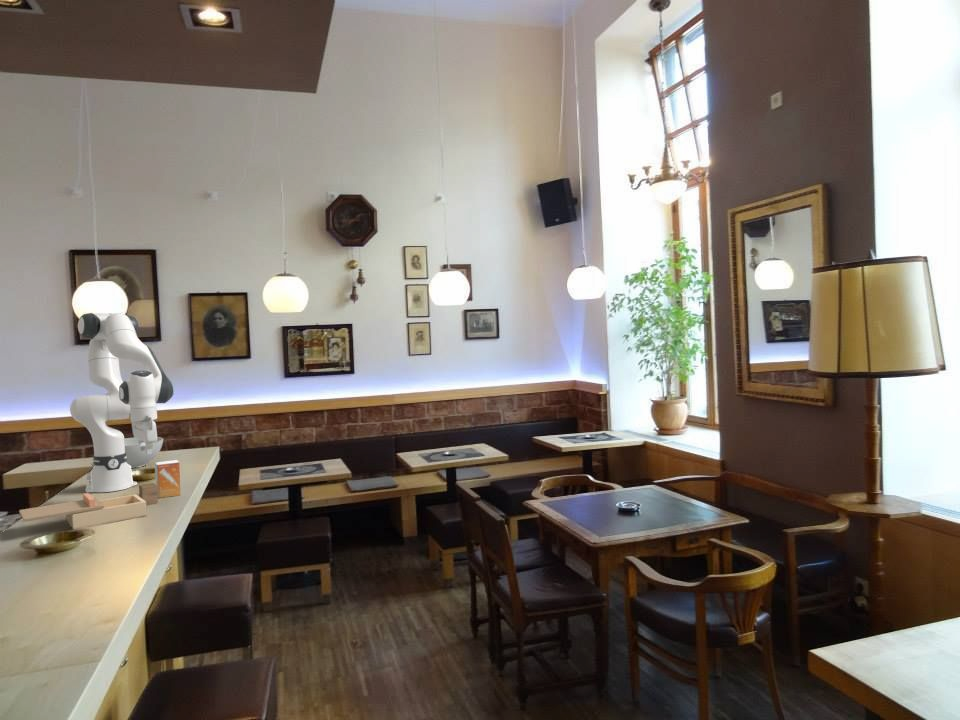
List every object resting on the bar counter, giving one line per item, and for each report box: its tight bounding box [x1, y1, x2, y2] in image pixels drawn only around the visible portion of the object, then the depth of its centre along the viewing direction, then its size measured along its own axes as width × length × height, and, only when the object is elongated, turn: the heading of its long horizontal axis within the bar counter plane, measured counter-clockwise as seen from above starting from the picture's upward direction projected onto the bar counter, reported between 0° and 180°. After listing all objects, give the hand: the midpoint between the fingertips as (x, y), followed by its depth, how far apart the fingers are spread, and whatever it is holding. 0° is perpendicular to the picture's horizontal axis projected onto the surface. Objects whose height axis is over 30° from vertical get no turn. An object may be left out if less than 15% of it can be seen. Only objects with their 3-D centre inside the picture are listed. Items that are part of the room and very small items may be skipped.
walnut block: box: [138, 482, 159, 506], centre depth 250 cm, size 5×5×7 cm
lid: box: [18, 492, 104, 523], centre depth 223 cm, size 15×22×3 cm
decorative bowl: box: [124, 436, 164, 469], centre depth 323 cm, size 27×27×12 cm
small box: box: [154, 459, 182, 499], centre depth 262 cm, size 8×6×13 cm
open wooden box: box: [65, 493, 148, 530], centre depth 232 cm, size 15×22×5 cm
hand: (145, 452), depth 250 cm, fingers open, 7 cm apart
